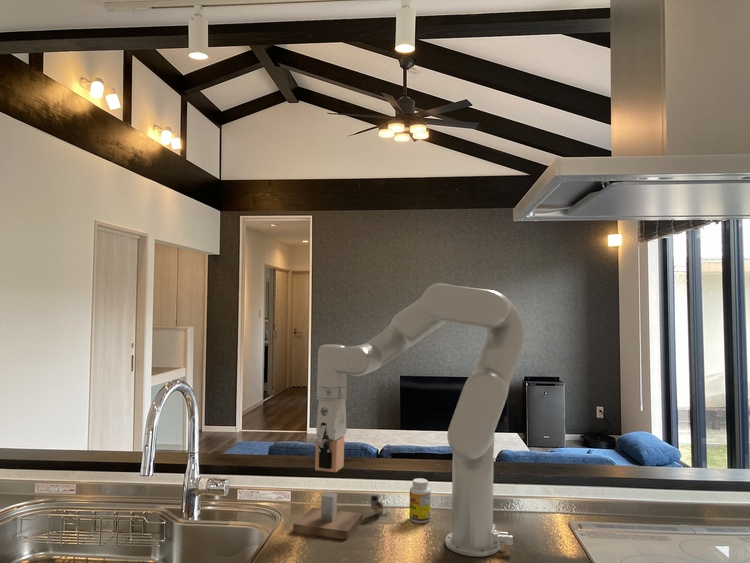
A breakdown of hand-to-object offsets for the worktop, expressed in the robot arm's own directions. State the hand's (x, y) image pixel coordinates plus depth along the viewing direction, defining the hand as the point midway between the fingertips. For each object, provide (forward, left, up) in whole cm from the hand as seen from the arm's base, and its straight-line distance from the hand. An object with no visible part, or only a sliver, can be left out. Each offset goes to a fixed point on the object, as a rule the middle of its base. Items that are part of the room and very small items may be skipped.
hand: (329, 464), depth 140 cm
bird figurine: (-10, -11, -16) cm, 21 cm away
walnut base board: (0, 0, -16) cm, 16 cm away
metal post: (0, 0, -14) cm, 14 cm away
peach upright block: (0, 0, -1) cm, 1 cm away
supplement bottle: (-21, -12, -16) cm, 29 cm away
